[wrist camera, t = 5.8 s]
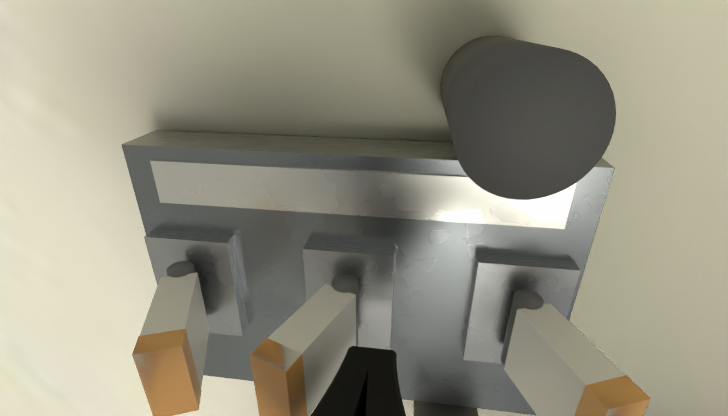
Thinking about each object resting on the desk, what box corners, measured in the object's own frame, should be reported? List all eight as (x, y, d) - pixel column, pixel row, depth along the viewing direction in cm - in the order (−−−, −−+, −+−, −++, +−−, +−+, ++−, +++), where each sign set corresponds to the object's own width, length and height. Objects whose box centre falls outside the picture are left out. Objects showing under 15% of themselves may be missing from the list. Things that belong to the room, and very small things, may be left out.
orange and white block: (199, 258, 15) (181, 343, 11) (212, 317, 16) (199, 411, 12) (163, 263, 14) (131, 351, 10) (179, 322, 15) (155, 421, 12)
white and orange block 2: (536, 286, 13) (651, 395, 9) (521, 348, 14) (618, 467, 11) (503, 292, 13) (608, 406, 9) (491, 355, 14) (579, 479, 10)
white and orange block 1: (367, 280, 13) (285, 369, 10) (366, 341, 15) (293, 440, 11) (336, 270, 14) (248, 351, 10) (338, 330, 15) (260, 420, 12)
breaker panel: (589, 148, 13) (624, 175, 11) (528, 376, 18) (544, 429, 16) (157, 129, 15) (109, 149, 13) (204, 341, 20) (176, 383, 18)
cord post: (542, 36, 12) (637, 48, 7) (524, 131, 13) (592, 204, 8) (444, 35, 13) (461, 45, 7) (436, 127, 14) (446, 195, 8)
